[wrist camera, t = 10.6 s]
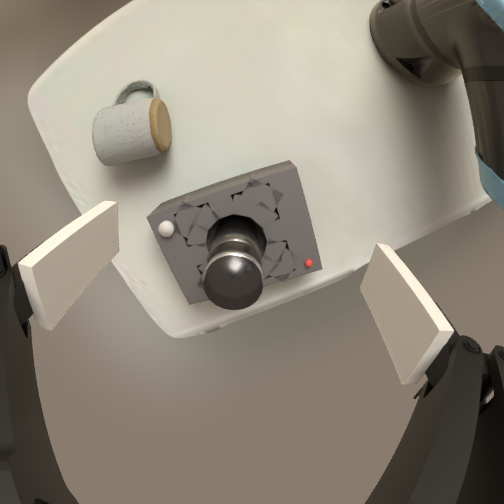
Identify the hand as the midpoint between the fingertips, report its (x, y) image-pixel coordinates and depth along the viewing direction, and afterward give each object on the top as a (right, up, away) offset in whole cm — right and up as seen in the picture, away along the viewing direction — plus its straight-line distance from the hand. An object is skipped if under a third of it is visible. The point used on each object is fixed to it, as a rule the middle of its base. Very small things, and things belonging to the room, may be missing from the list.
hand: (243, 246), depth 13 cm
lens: (-2, +2, +22) cm, 22 cm away
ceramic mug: (-14, +17, +18) cm, 29 cm away
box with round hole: (-1, +3, +25) cm, 25 cm away
